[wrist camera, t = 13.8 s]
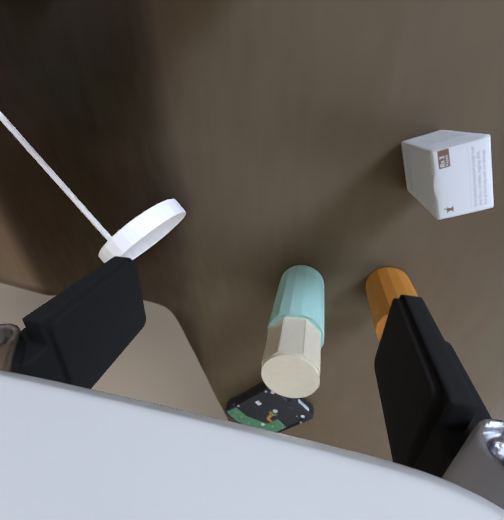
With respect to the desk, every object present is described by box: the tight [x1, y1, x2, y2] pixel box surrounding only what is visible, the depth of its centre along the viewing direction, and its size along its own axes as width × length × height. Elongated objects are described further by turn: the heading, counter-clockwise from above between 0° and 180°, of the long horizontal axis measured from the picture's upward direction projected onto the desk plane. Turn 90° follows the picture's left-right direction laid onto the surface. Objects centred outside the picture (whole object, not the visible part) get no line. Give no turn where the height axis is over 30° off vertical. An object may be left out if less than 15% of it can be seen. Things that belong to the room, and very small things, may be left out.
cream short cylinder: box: [261, 317, 321, 398], centre depth 31 cm, size 6×6×6 cm
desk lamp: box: [0, 111, 186, 263], centre depth 35 cm, size 12×22×45 cm
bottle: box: [267, 265, 324, 347], centre depth 37 cm, size 7×7×16 cm
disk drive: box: [225, 382, 313, 433], centre depth 57 cm, size 10×3×15 cm
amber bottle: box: [365, 267, 418, 340], centre depth 36 cm, size 6×6×14 cm
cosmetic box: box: [401, 130, 494, 220], centre depth 28 cm, size 6×4×12 cm
